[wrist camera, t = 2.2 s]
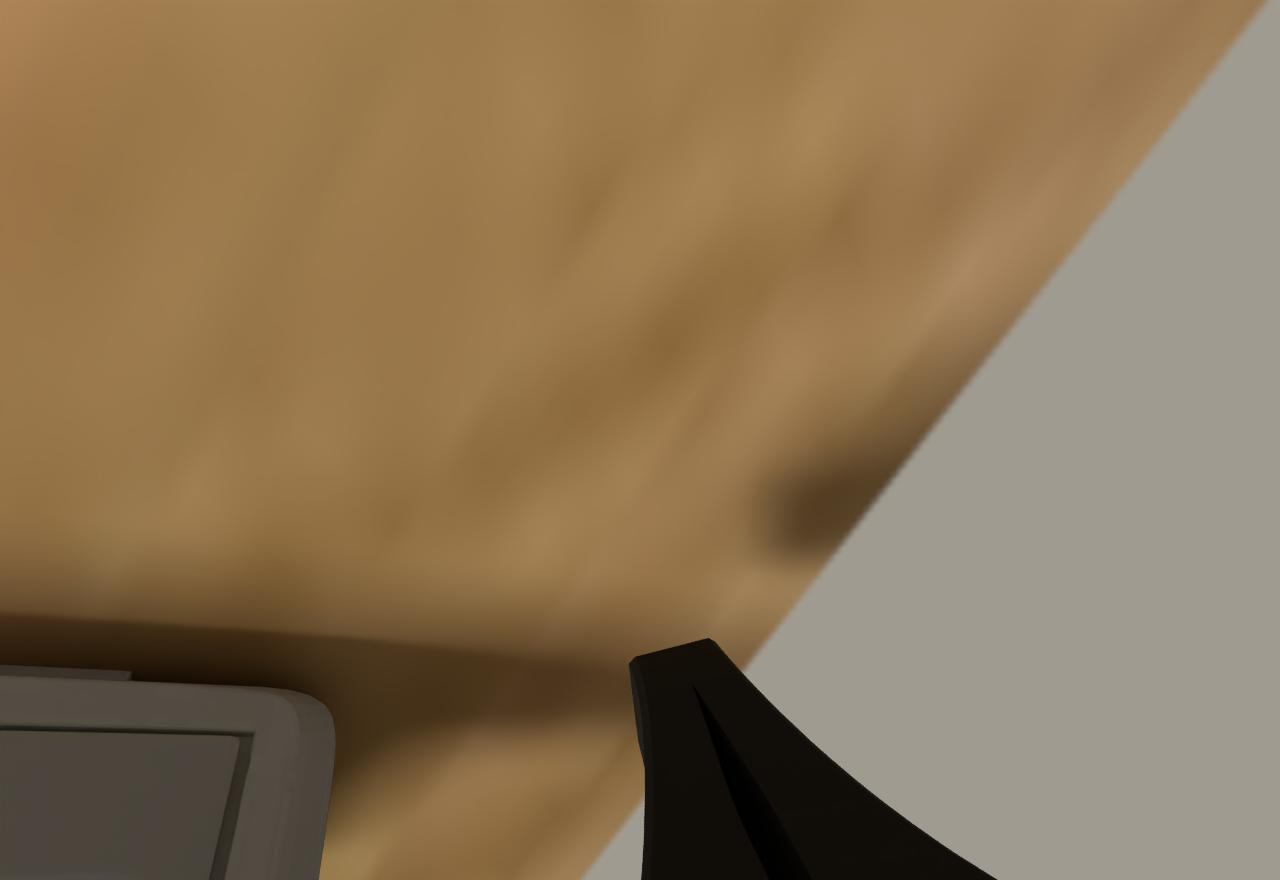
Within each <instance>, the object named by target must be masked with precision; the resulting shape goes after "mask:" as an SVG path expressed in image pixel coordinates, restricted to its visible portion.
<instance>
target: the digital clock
mask: <svg viewBox="0 0 1280 880" xmlns="http://www.w3.org/2000/svg"><path fill="white" fill-rule="evenodd" d="M335 750H336V735H335V727H334V722H333V717H332V715H331V714H330V712H329V710H328V709H327V707H326V705H325V704H323V703H321V702H320V701H318V700H317V699H315V698H314V697H312V696H310V695H306V694H303V693H300V692H296V691H293V690H288V689H278V688H269V687H254V686H232V685H210V684H188V683H166V682H144V681H132V671H118V670H97V669H77V668H56V667H36V666H16V665H0V880H319V873H320V866H321V859H322V852H323V845H324V838H325V830H326V823H327V816H328V809H329V802H330V795H331V788H332V780H333V772H334V761H335Z"/></svg>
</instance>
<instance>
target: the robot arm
mask: <svg viewBox="0 0 1280 880" xmlns="http://www.w3.org/2000/svg"><path fill="white" fill-rule="evenodd" d="M629 670H630V678H631V686H632V694H633V702H634V710H635V718H636V726H637V734H638V742H639V746H640V750H641V754H642V758H643V762H644V767H645V816H644V846H643V863H642V876H641V880H997V879H995V878H994V877H992V876H990V875H989V874H987V873H986V872H984V871H983V870H981V869H979V868H978V867H976V866H975V865H973V864H972V863H970V862H968V861H967V860H965V859H963V858H962V857H960V856H959V855H957V854H956V853H954V852H952V851H951V850H950V849H948V848H947V847H945V846H944V845H942V844H941V843H939V842H938V841H936V840H935V839H934V838H932V837H931V836H929V835H928V834H927V833H925V832H924V831H922V830H921V829H919V828H918V827H917V826H915V825H914V824H912V823H911V822H910V821H908V820H907V819H906V818H904V817H903V816H902V815H900V814H899V813H898V812H896V811H895V810H894V809H892V808H891V807H889V806H888V805H887V804H885V803H884V802H883V801H882V800H880V799H879V798H878V797H876V796H875V795H874V794H873V793H871V792H870V791H868V789H866V788H865V787H864V786H863V785H861V784H860V783H859V782H858V781H856V780H855V779H854V778H853V777H852V776H850V775H849V774H848V773H847V772H846V771H845V770H843V769H842V768H841V767H840V766H839V765H838V764H836V763H835V762H834V761H833V760H832V759H830V758H829V757H828V756H827V755H826V754H825V753H824V752H823V751H821V750H820V749H819V748H818V747H817V746H816V745H815V744H814V743H812V742H811V741H810V740H809V739H808V738H807V737H806V736H805V735H804V734H803V733H802V732H801V731H800V730H799V729H798V728H796V727H795V726H794V725H793V724H792V723H791V722H790V721H789V720H788V719H787V718H786V717H785V716H784V715H783V714H781V712H779V710H778V709H777V708H776V707H774V705H772V703H771V702H770V701H768V699H767V698H766V697H765V696H764V695H763V694H762V693H761V692H760V691H759V690H758V689H757V688H756V687H755V686H754V685H753V684H752V683H751V682H750V681H749V680H748V679H747V678H746V676H745V675H744V674H743V673H742V672H741V671H740V670H739V669H738V668H737V667H736V666H735V664H734V663H733V662H732V661H731V660H730V659H729V658H728V656H727V655H726V654H725V653H724V652H723V651H722V650H721V648H720V647H719V646H718V645H717V644H716V642H714V641H713V640H711V639H709V638H707V639H703V640H699V641H695V642H691V643H687V644H683V645H680V646H676V647H672V648H668V649H664V650H660V651H656V652H652V653H648V654H645V655H641V656H637V657H635V658H634V659H633V660H632V661H631V662H630V663H629Z"/></svg>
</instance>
